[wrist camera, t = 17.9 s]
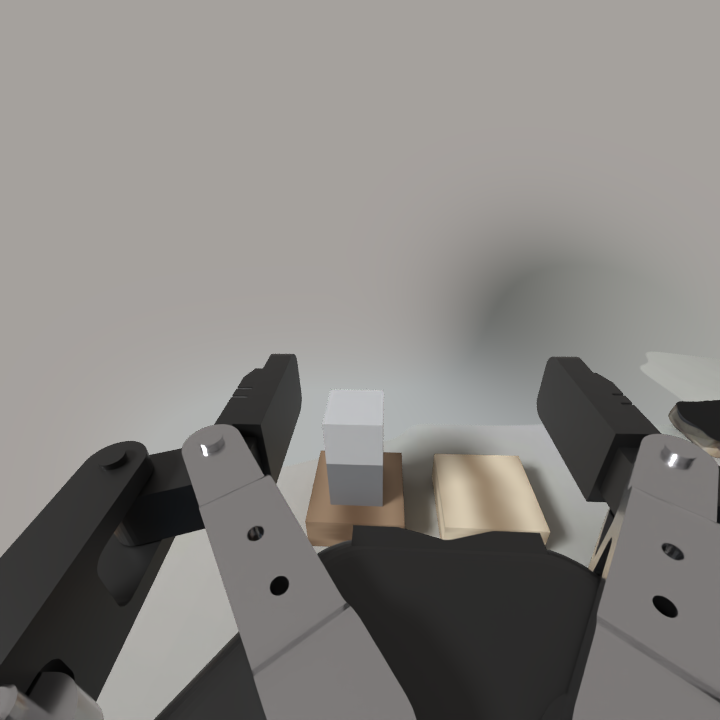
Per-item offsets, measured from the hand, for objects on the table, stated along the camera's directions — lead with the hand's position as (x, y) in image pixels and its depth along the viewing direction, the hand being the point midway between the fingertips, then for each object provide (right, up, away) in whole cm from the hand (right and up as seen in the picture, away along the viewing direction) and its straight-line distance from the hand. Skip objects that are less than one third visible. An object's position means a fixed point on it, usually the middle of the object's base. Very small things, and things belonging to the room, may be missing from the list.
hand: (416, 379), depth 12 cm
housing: (-2, -13, +29) cm, 32 cm away
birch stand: (+12, -17, +30) cm, 36 cm away
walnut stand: (-2, -17, +31) cm, 35 cm away
